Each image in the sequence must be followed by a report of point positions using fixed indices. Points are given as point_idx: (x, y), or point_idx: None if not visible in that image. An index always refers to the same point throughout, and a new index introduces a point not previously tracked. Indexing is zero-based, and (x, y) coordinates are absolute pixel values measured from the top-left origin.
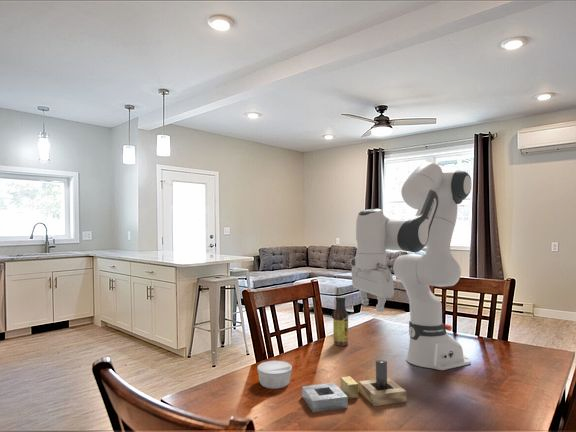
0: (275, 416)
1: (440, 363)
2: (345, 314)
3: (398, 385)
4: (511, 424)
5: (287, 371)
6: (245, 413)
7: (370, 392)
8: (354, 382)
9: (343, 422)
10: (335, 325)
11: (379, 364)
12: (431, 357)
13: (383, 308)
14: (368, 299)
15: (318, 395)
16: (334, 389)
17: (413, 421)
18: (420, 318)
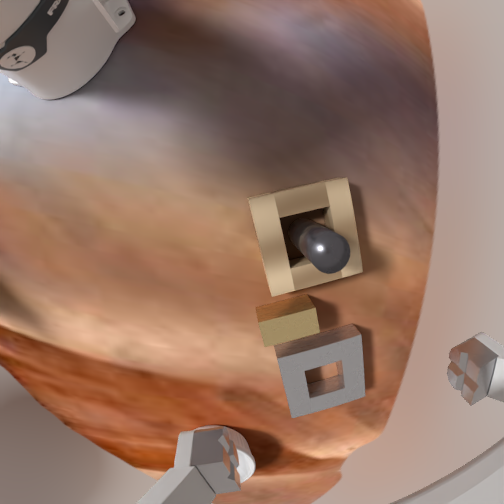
0: (356, 429)
1: (110, 15)
2: None
3: (310, 186)
4: (420, 29)
5: (242, 451)
6: (336, 460)
7: (343, 276)
8: (305, 316)
9: (401, 334)
10: None
11: (344, 263)
12: (104, 28)
13: (491, 341)
14: (223, 460)
15: (344, 389)
16: (319, 360)
17: (419, 199)
18: (13, 6)
